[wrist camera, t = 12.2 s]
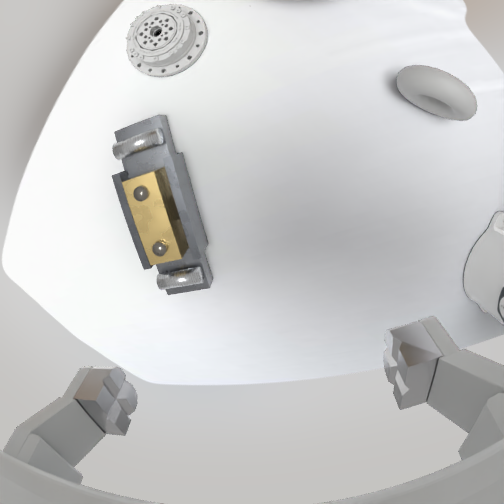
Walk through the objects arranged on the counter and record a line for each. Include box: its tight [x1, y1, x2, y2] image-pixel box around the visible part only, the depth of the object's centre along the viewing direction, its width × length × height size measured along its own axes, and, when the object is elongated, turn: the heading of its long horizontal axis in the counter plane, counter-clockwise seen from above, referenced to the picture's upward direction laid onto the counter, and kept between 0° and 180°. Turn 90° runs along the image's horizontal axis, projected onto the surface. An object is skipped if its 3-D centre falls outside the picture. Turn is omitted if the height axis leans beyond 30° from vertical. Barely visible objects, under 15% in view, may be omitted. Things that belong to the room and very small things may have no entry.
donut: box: [397, 65, 477, 121], centre depth 24 cm, size 10×3×10 cm, turn 74°
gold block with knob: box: [122, 167, 189, 265], centre depth 32 cm, size 4×10×4 cm, turn 13°
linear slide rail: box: [112, 115, 213, 295], centre depth 34 cm, size 8×22×4 cm, turn 13°
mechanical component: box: [126, 4, 207, 77], centre depth 26 cm, size 10×4×10 cm
